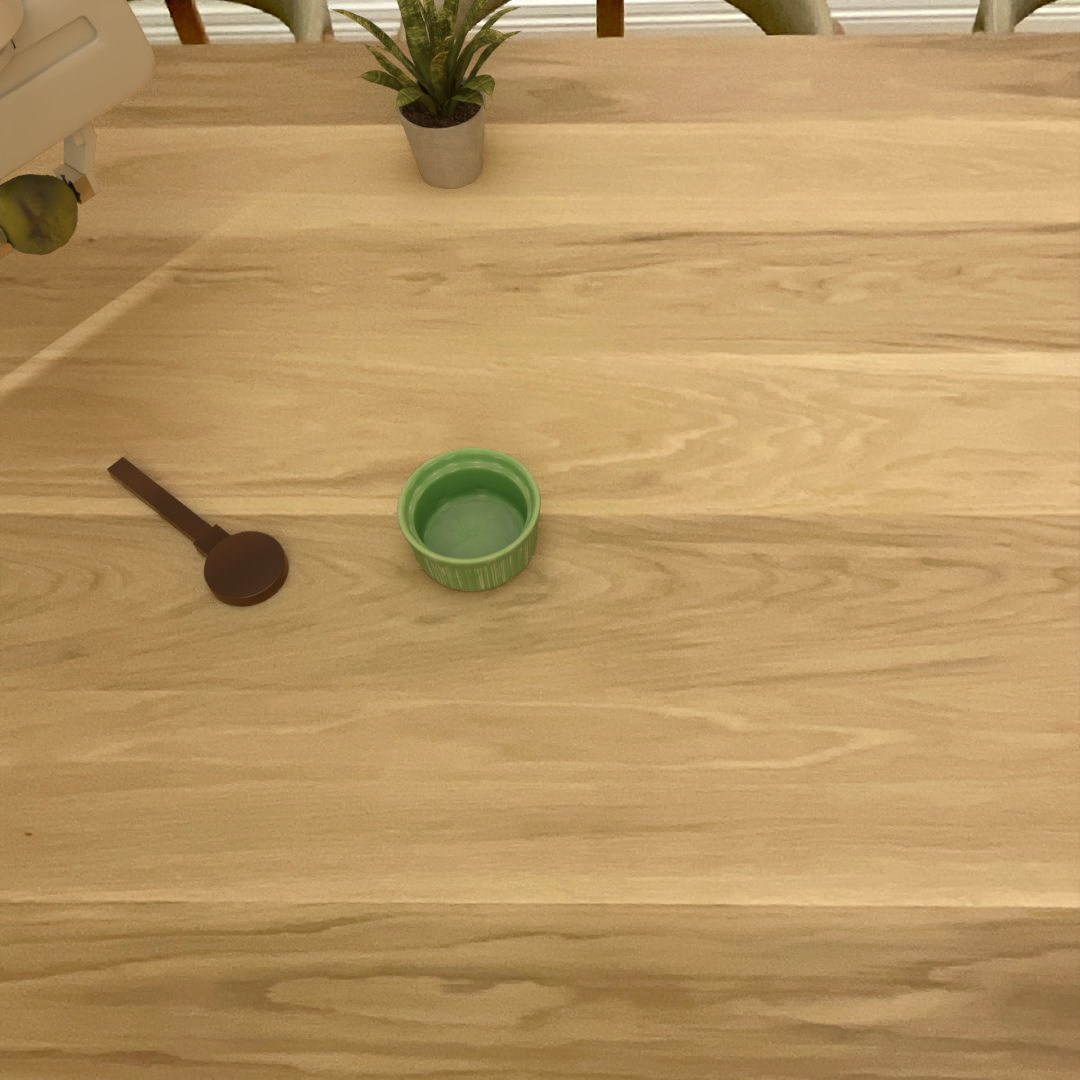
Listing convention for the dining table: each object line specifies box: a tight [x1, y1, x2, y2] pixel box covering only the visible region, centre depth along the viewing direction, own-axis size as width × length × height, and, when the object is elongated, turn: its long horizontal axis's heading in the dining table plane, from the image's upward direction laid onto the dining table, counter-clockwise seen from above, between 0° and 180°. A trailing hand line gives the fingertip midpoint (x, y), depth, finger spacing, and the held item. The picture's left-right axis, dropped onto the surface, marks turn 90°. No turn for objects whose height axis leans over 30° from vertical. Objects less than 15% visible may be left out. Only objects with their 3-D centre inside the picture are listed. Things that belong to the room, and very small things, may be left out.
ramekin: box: [396, 446, 542, 592], centre depth 74 cm, size 9×9×4 cm
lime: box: [0, 173, 79, 256], centre depth 68 cm, size 4×5×5 cm
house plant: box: [331, 0, 522, 189], centre depth 89 cm, size 14×14×16 cm
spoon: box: [106, 456, 289, 607], centre depth 77 cm, size 16×5×1 cm, turn 50°
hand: (40, 224), depth 68 cm, fingers closed on lime, 5 cm apart
